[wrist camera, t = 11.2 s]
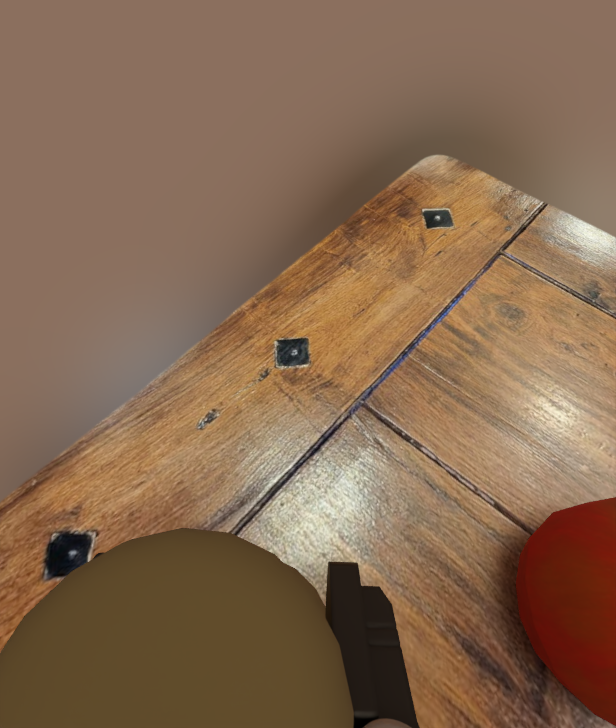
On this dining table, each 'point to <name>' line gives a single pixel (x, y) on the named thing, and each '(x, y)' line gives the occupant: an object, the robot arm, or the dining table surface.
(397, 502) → the dining table surface
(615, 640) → the apple
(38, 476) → the dining table surface
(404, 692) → the robot arm
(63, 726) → the cork
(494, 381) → the dining table surface
